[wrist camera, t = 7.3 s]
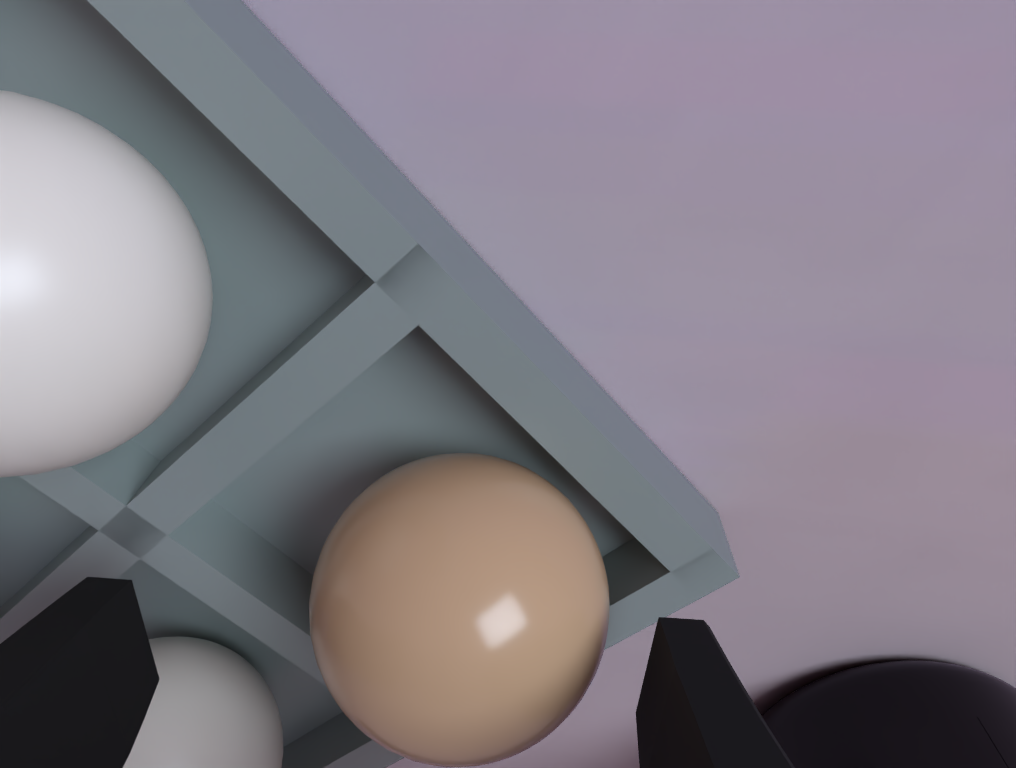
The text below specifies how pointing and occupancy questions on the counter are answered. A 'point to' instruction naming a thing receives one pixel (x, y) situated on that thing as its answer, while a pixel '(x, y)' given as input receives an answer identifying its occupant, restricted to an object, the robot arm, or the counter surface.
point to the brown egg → (459, 610)
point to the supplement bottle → (899, 718)
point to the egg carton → (259, 368)
